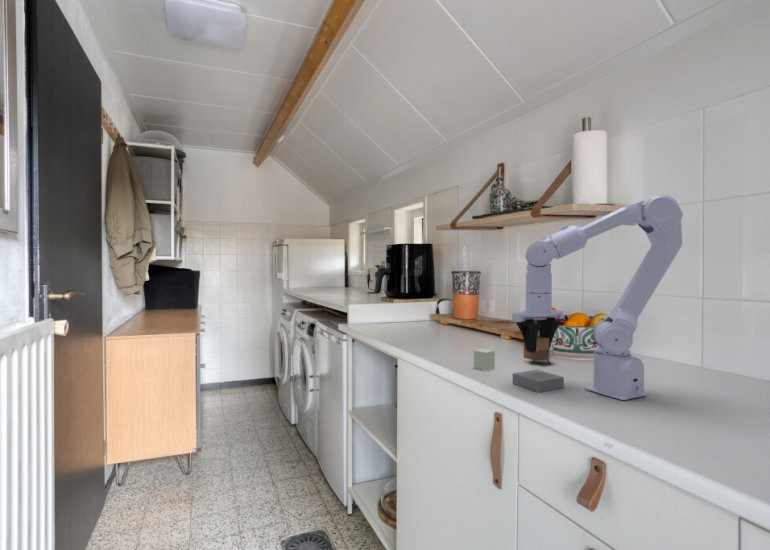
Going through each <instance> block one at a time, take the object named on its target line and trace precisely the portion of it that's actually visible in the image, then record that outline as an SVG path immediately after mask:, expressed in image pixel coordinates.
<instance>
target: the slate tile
mask: <svg viewBox="0 0 770 550" xmlns="http://www.w3.org/2000/svg"><path fill="white" fill-rule="evenodd" d="M564 379H565V377H564V376H560V375H557V374H553V373H551V372H546V371H543V370H540V369H533V370H525V371H520V372H519V371H518V372H513V373H512V384H513V385H515V384H516V385H515V386H518V385H519V387H521V386H522V388H524V387H525V389H527V388H528V389H527V390H530V389H531V390H530V391H533V390H534V391H533V392H536V391H537V393H538V392H539V393H542V392H541V391H544V392H549V391H548V390H550V391H555V390H559V388H561V389H564V386H565V385H564V382H565V381H564Z"/></svg>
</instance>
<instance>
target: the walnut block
mask: <svg viewBox="0 0 770 550" xmlns="http://www.w3.org/2000/svg"><path fill="white" fill-rule="evenodd" d="M523 350H524V351H523V358H524V359H526V360H531V361H532V360H535V361H541V360H548V359H549V338H546V337H541V336H539V335H537V343H536V351H535V352H534V353H533V352H528V351H527V350H526V346H525V342H524V341H523Z"/></svg>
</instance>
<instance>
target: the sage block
mask: <svg viewBox="0 0 770 550" xmlns="http://www.w3.org/2000/svg"><path fill="white" fill-rule="evenodd" d="M495 353H496V352H495V350H494V349H493V350H492V349H488V348H487V349H486V348H479V349H475V350H473V369H474V368H477V369H476V370H479V369H482V370H481V371H483V370H485V371H484V372H487V371H486V370H488V371H491V370H490V369H492V370H495V369H494V368H495V367H496V364H495V362H496V361H495V357H496V355H495Z"/></svg>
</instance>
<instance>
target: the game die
mask: <svg viewBox="0 0 770 550" xmlns="http://www.w3.org/2000/svg"><path fill="white" fill-rule="evenodd" d="M555 350H558V347H555V346H554V345H553V344H552V343H551V346H550V350H549V359H548V360H541V361H535V360H531V365H533V364H534V363H539V362H540V363H548V364H549V365H551V363H552V362H551V358H552V357H553V354H554V351H555ZM523 352H524V349H523Z"/></svg>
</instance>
